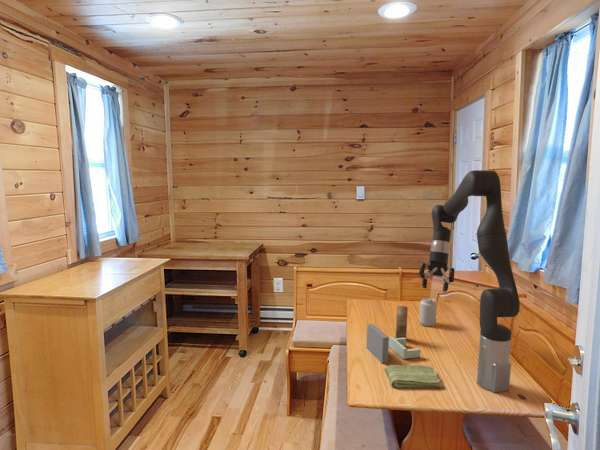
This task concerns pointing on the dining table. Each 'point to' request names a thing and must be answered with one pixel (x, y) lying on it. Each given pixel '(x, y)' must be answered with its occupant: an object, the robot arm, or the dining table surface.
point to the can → (428, 312)
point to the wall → (377, 343)
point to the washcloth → (412, 376)
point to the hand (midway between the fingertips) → (434, 290)
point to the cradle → (403, 348)
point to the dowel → (401, 322)
